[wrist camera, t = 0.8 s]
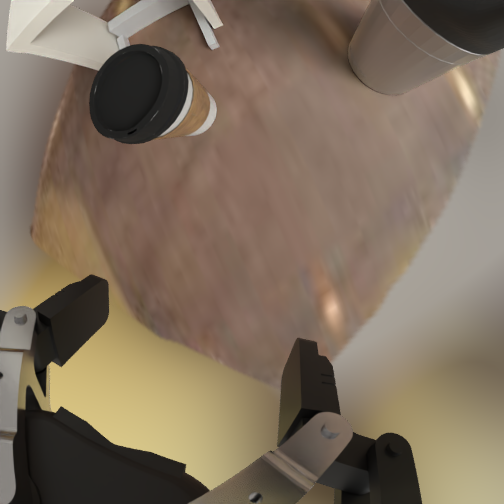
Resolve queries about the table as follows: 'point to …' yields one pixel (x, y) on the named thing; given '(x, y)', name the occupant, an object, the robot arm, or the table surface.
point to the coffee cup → (148, 97)
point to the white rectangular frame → (91, 28)
